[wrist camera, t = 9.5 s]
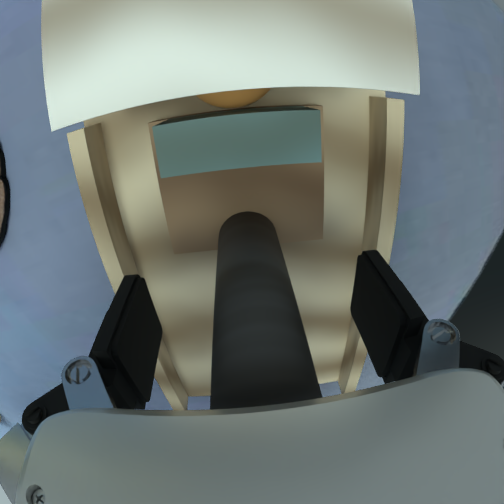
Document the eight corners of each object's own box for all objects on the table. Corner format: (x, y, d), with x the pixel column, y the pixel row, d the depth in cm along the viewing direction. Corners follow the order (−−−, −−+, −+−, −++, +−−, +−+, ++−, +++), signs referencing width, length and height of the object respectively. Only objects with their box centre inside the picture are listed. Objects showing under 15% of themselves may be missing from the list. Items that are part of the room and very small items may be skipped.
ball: (269, 54, 12) (280, 119, 12) (190, 62, 12) (192, 128, 12) (275, 0, 8) (292, 70, 8) (174, 10, 8) (171, 82, 8)
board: (345, 370, 26) (367, 439, 19) (178, 388, 26) (172, 460, 19) (368, -5, 11) (451, -43, 4) (81, 23, 10) (-6, 1, 4)
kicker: (317, 246, 17) (390, 408, 8) (180, 260, 17) (144, 434, 8) (316, 104, 13) (475, 150, 4) (153, 120, 13) (9, 197, 4)
